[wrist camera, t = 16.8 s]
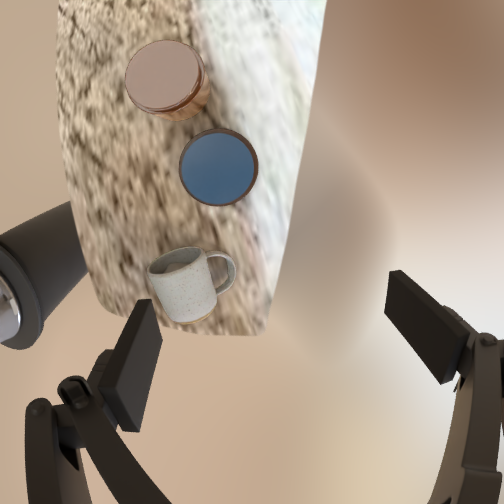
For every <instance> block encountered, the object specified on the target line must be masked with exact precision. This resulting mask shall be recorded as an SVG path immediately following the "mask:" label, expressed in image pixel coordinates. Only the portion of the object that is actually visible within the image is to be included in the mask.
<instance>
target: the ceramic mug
mask: <svg viewBox="0 0 504 504" xmlns="http://www.w3.org/2000/svg"><path fill="white" fill-rule="evenodd" d="M211 256H222V257H224V258H226V260H227V265H228V275H229V276H228V278H227V280H226V281H225V282H224V283H223V284H222V285H221V286H219V287H218V288H216V289H215V288H214V285H213V282H212V279H211V275H210V271H209V267H208V263H207V258H208V257H211ZM147 274H148V276H149V279H150V281H151V283H152V285H153V287H154V289H155V291H156V293H157V296H158V298H159V300H160V302H161V304H162V306H163V308H164V310H165V312H166V314H167V315H168V316H169V317H170V319H171V320H172V321H174V322H176V323H179V324H192V323H196V322H199V321H201V320H203V319H205V318H206V317H208V316H209V315H210V314H211V313H212V312H213V311H214V309H215V307H216V304H217V300H216V296H217V295H218V294H221V293H223V292H225V291H226V290H228V289H229V288H230V287H231V286H232V284H233V282H234V280H235V277H236V267H235V263H234V261H233V259H232V258H231V257H230V256H229V255H227V254H226V253H224V252H221V251H207V252H204V250H203V249H202V248H200V247H193V246H189V247H184V248H178V249H175V250H172V251H170V252H167V253H165V254H163V255H161V256H159V257H158V258H156V259H155V260H154V261H152V263H151V264H150V265H149V266H148V268H147Z"/></svg>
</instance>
